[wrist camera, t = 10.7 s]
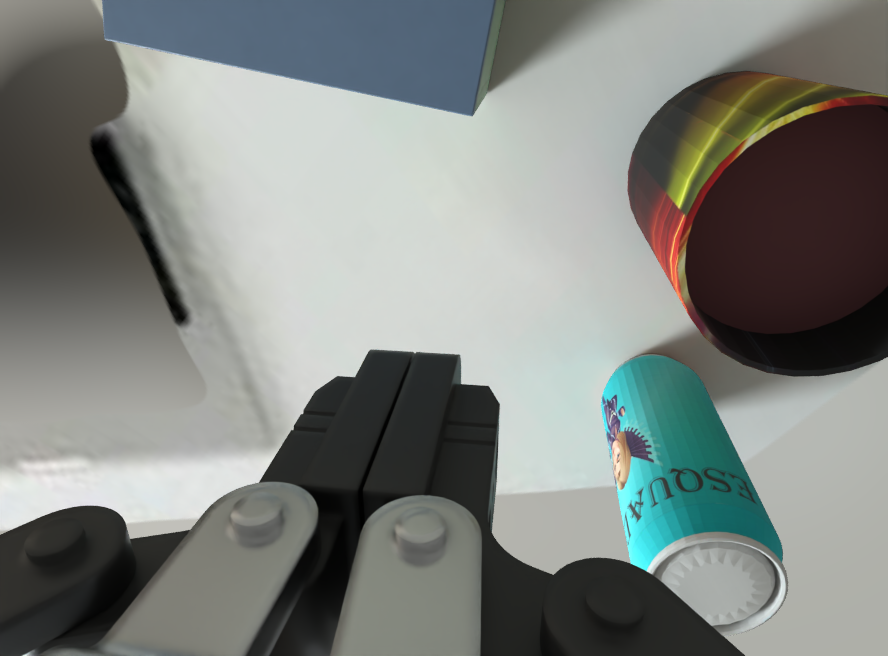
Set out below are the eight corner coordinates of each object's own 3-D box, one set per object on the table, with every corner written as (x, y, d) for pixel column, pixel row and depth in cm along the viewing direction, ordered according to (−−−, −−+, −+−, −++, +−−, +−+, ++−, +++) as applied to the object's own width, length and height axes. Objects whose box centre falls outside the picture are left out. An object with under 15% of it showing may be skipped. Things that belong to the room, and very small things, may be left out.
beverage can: (606, 339, 36) (651, 523, 23) (708, 348, 36) (817, 542, 22) (591, 423, 39) (625, 632, 25) (687, 432, 38) (774, 652, 25)
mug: (856, 301, 34) (1012, 431, 23) (602, 243, 34) (637, 343, 23) (957, 116, 29) (1208, 166, 18) (666, 50, 30) (745, 63, 19)
